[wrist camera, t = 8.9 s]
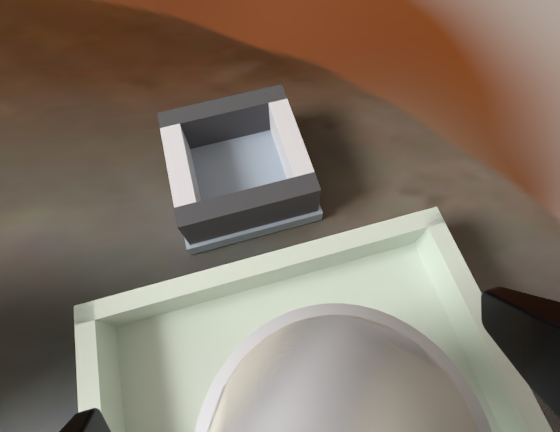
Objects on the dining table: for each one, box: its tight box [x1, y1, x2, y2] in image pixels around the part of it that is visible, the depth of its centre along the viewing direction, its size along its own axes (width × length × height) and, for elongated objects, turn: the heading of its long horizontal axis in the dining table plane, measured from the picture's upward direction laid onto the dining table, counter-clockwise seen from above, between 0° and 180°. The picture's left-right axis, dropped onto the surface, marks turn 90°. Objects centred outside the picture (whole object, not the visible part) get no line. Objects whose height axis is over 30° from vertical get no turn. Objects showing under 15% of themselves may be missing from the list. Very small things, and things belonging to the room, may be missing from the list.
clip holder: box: [157, 84, 323, 255], centre depth 19 cm, size 7×7×3 cm
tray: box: [74, 207, 553, 432], centre depth 15 cm, size 12×16×3 cm
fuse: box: [195, 303, 492, 432], centre depth 10 cm, size 4×4×12 cm
